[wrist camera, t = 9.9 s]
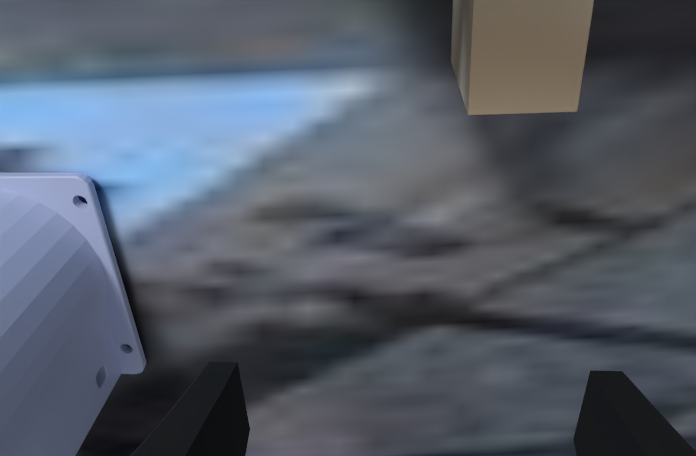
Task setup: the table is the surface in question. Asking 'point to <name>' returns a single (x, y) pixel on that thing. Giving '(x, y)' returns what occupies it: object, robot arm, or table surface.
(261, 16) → the table surface
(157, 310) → the table surface
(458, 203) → the table surface
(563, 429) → the table surface
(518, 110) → the push stick
